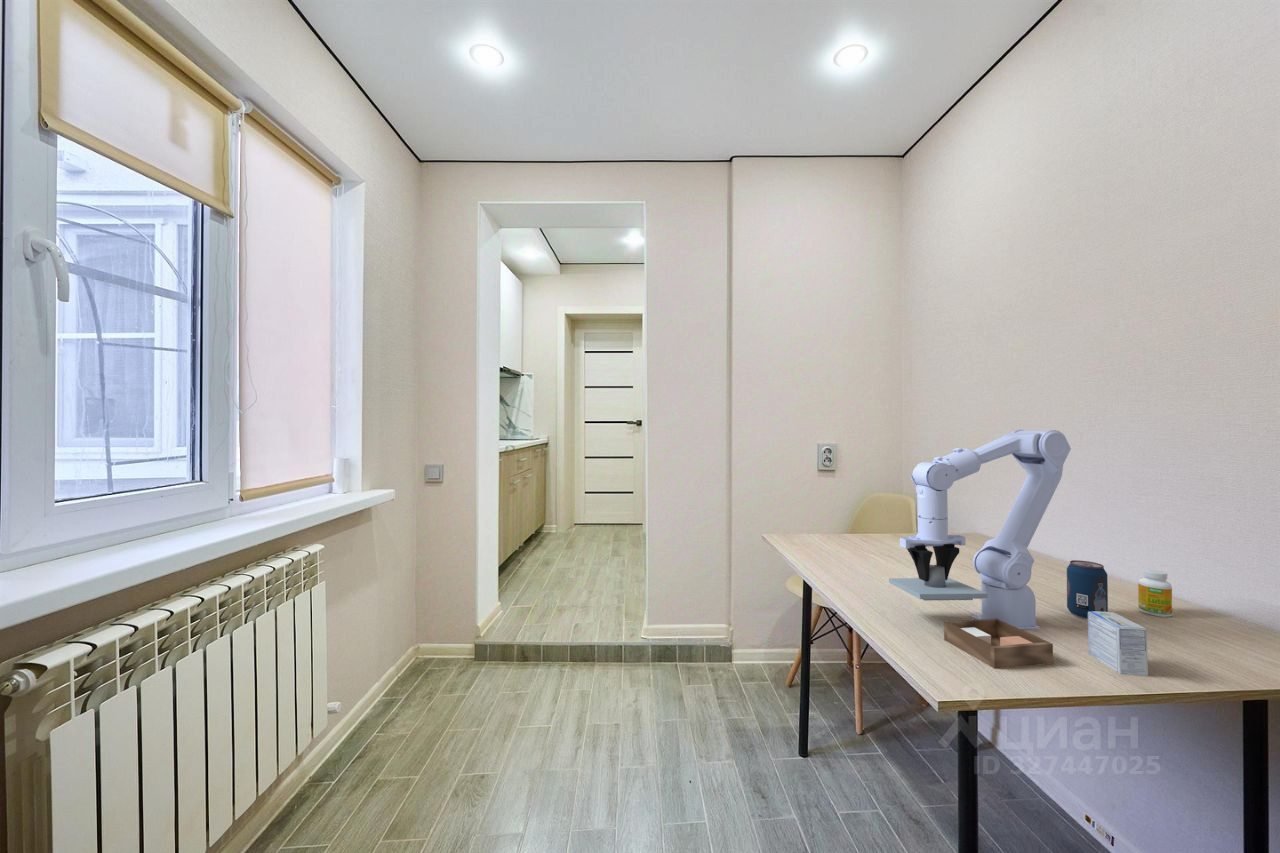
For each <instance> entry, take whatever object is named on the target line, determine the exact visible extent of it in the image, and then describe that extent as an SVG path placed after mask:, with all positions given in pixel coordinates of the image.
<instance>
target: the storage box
mask: <svg viewBox="0 0 1280 853" xmlns="http://www.w3.org/2000/svg"><path fill="white" fill-rule="evenodd" d="M970 627H975V628H977V629H979V630H981V631H983V632H985V633H987V634H989V635H991V644H989V643H987V642H985V641H984V640H982V639H980V638H978V637H976V636H974V635H972V634H970V633H968V632H966V631H964V630H962V629H960V628H970ZM943 632H944V633H943V640H944V641H945V642H947V643H948V644H951V645H952V646H954V647H955V648H957V649H959V650H961V651H963V652H965V653H966V654H968V655H970V656H971V657H973V658H974V659H977V660H979V661H981V662H982V663H983V664H985V665H987V666H989V667H990V668H992V669H994V670H995V669H1006V668H1019V667H1029V666H1030V667H1031V666H1041V665H1053V664H1054V650H1053V649H1054V644H1053V643H1052V642H1051V641H1048V640H1045V639H1043V638H1041V637H1039V636H1037V635H1035V634H1032V633H1030V632H1028V631H1025V630H1024V629H1022V630H1021V629H1019V628H1017V627H1015V626H1012V625H1010V624H1008V623H1006V622H1003V621H1001V620H999V619H997V618H995V619H980V620H977V619H969V620H956V621H955V620H954V621H952V620H951V621H943ZM1012 636H1020V637H1022V638H1024V639H1026V640H1028V641H1030V642H1032V643H1028V644H1015V645H1003V646H1000V637H1012Z"/></svg>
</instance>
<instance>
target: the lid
mask: <svg viewBox="0 0 1280 853" xmlns="http://www.w3.org/2000/svg"><path fill="white" fill-rule="evenodd" d="M888 583H889V584H891V585H892V586H894V587H896V588H898V589H900V590H902V591H904V592H906V593H907V594H910V595H912V596H914V597H916V598H917V599H919V600H923V601H974V599H975V600H976V599H980V600H982V599H988V594H987V593H985V592H982V590H979V589H977V588H975V587H972V586H970V585H968V584H965V583H962V582H960V581H957V580H955V579H953V578H949V577H948V579H947V580H945V567H943V566H938V565H936V564H930V566H929V580H928V581H923V580H921V579H919V577H909V578H908V577H906V578H905V577H902V578H901V577H899V578H893V577H891V578H890V577H889V578H888Z"/></svg>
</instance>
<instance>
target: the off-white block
mask: <svg viewBox="0 0 1280 853" xmlns="http://www.w3.org/2000/svg"><path fill="white" fill-rule="evenodd" d="M960 629H962V630H964V631H966V632H968V633H970V634H972V635H974V636H976V637H978V638H980V639H982V640H984V641H985V642H987V643H989V644H991V635H989V634H987V633H985V632H983V631H981V630H979V629H977V628H975V627H970V628H960Z"/></svg>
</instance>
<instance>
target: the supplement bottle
mask: <svg viewBox="0 0 1280 853" xmlns="http://www.w3.org/2000/svg"><path fill="white" fill-rule="evenodd" d="M1141 575H1142V576H1143V577H1141V578H1139V579H1138V583H1137V584H1138V586H1137V587H1138V590H1137V591H1138V594H1137V595H1138V597H1137V598H1138V600H1137V601H1138V610H1139V611H1140V612H1142V613H1143V614H1144V613H1145V614H1146V615H1147V614H1148V615H1150V616H1154V617H1161V618H1162V617H1163V618H1168V617H1172V615H1173V586H1172V584H1171V583H1170V582H1169V581H1167V580H1168V572H1166V571H1163V570H1159V569H1152V568H1143V569H1142V572H1141Z"/></svg>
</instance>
